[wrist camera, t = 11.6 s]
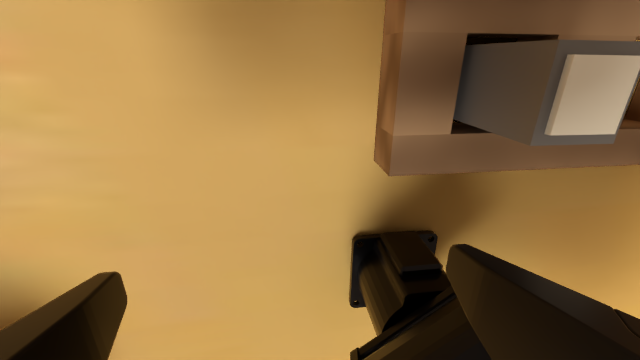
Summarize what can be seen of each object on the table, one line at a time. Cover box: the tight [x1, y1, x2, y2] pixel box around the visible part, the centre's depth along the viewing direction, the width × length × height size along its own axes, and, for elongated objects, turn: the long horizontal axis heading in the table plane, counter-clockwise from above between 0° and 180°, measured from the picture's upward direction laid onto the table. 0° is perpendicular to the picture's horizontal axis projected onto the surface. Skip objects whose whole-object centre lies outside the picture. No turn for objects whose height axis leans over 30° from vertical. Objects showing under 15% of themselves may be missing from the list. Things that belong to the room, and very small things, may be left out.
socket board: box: [374, 0, 640, 176], centre depth 18 cm, size 14×22×4 cm, turn 90°
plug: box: [453, 39, 640, 146], centre depth 16 cm, size 4×4×8 cm
